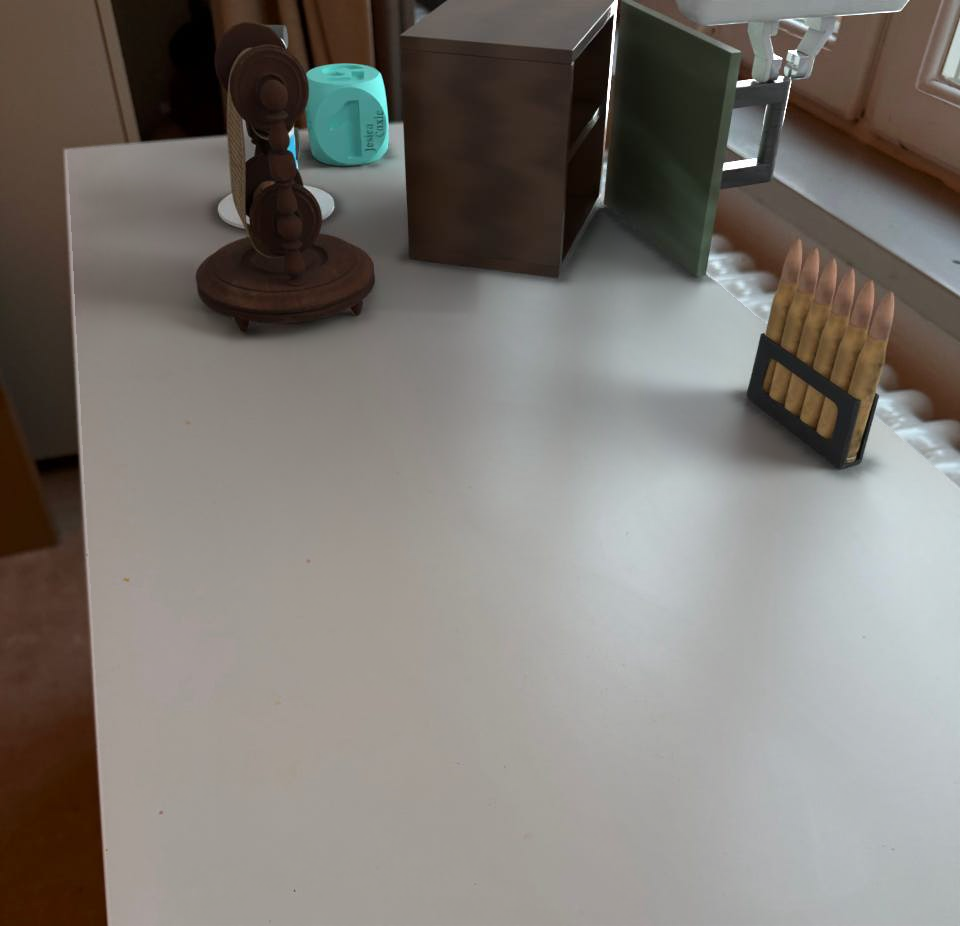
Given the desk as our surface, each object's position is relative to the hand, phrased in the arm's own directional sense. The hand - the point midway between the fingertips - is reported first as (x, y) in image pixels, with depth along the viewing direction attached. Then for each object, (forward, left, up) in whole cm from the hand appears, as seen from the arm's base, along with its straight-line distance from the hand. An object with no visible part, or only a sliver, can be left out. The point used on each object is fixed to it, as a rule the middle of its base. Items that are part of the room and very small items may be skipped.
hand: (780, 78), depth 85 cm
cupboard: (+21, -9, -15) cm, 27 cm away
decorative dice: (+35, -32, -15) cm, 49 cm away
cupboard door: (+4, -5, -15) cm, 16 cm away
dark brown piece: (+42, +3, -15) cm, 44 cm away
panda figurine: (+43, -17, -15) cm, 48 cm away
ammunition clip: (+6, +29, -15) cm, 33 cm away
